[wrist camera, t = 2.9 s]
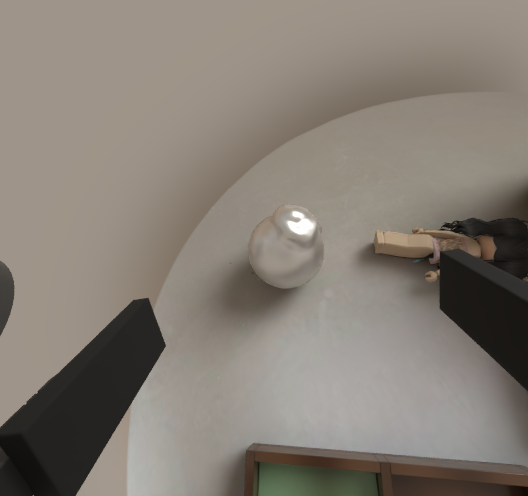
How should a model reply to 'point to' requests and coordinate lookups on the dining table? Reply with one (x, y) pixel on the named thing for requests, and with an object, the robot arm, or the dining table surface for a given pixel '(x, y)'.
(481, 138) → the dining table surface
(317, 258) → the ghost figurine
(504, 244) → the toy figure
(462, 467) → the tray
